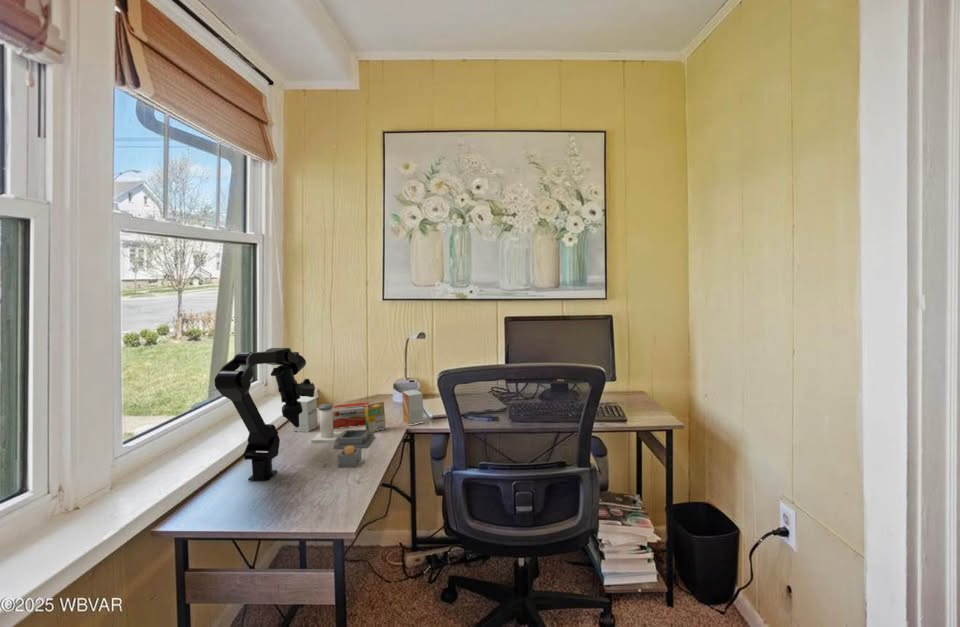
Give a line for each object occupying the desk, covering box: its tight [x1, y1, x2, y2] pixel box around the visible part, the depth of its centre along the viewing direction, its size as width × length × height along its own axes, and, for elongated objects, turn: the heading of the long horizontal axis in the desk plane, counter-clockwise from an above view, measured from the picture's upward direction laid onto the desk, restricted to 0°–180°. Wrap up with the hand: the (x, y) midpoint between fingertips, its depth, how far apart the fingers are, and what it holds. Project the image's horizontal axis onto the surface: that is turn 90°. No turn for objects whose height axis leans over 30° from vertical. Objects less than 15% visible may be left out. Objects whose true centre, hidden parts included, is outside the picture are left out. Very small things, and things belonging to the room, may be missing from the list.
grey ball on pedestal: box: [318, 403, 334, 438], centre depth 181 cm, size 5×5×12 cm
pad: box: [310, 431, 343, 444], centre depth 182 cm, size 9×9×1 cm
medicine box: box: [332, 401, 370, 429], centre depth 199 cm, size 15×8×8 cm, turn 105°
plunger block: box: [337, 448, 362, 468], centre depth 157 cm, size 6×6×4 cm
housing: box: [332, 429, 375, 450], centre depth 177 cm, size 12×12×3 cm
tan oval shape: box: [343, 445, 355, 454], centre depth 157 cm, size 3×3×5 cm
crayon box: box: [365, 401, 386, 434], centre depth 189 cm, size 7×3×12 cm, turn 126°
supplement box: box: [292, 396, 319, 433], centre depth 194 cm, size 7×7×13 cm
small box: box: [401, 389, 425, 425], centre depth 199 cm, size 8×6×13 cm
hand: (297, 420), depth 167 cm, fingers open, 9 cm apart
